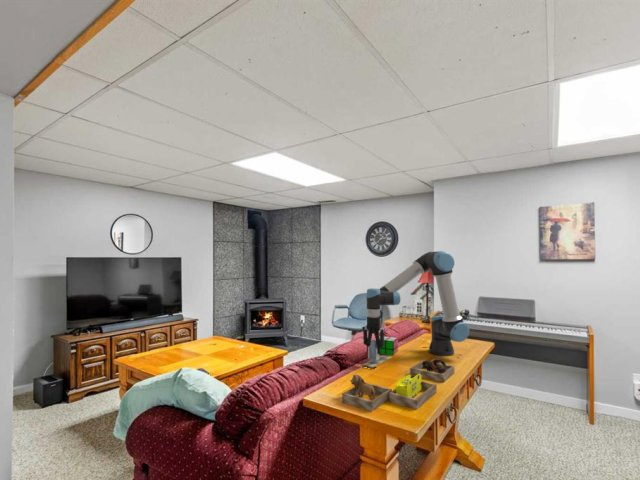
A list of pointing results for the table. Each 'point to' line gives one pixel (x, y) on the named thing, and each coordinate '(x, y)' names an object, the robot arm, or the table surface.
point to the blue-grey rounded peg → (373, 350)
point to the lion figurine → (362, 387)
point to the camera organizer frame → (411, 402)
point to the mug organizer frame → (432, 375)
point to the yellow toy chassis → (409, 386)
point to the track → (375, 362)
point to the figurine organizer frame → (351, 399)
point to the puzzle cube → (390, 346)
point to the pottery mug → (434, 366)
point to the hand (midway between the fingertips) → (373, 358)
